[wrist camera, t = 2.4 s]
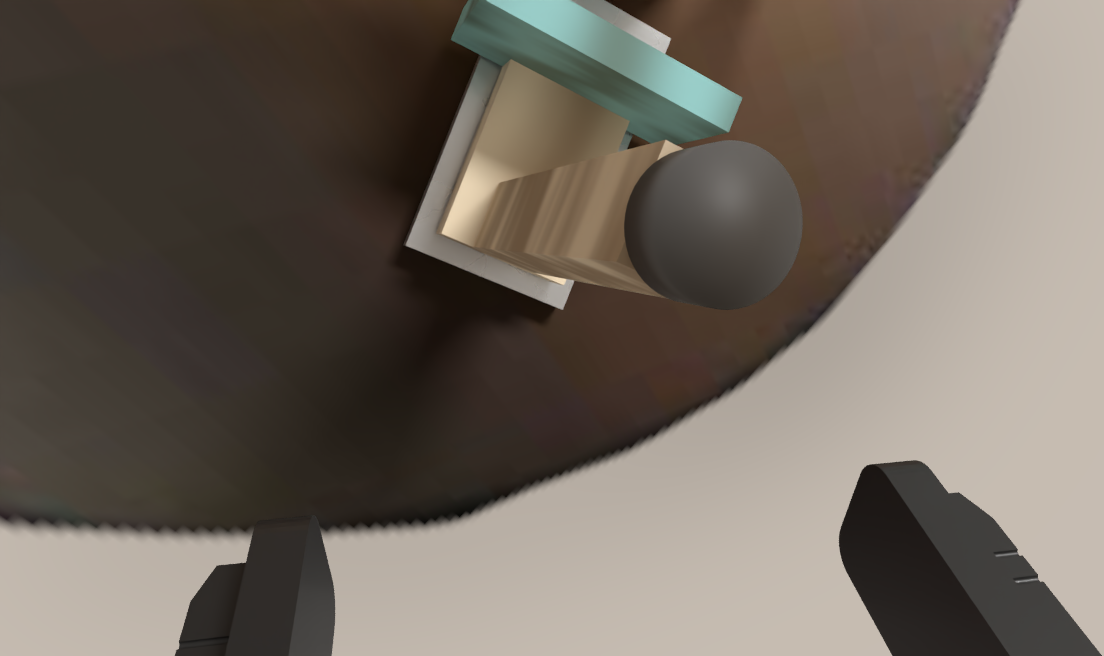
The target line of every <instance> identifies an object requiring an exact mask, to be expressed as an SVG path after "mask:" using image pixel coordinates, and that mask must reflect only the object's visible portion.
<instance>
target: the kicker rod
mask: <svg viewBox="0 0 1104 656" xmlns="http://www.w3.org/2000/svg"><path fill="white" fill-rule="evenodd" d="M451 40H452V41H454V42H456V43H458V44H460V45H462V46H464V47H466V48H468V49H470V50H472V51H473V52H475V53H477V54H479V55H481V56H483V57H485V58H487V59H489V60H491V61H493V62H495V63H497V64H499V65H501V66H503V67H502V69H501V72H500V74H499V77H498V79H497V82H496V84H495V87H494V89H493V92H492V94H491V97H490V99H489V102H488V104H487V107H486V109H485V112H484V114H483V117H482V119H481V122H480V124H479V127H478V129H477V132H476V134H475V137H474V139H473V142H472V144H471V147H470V149H469V152H468V154H467V157H466V159H465V162H464V164H463V167H462V169H461V172H460V174H459V177H458V179H457V182H456V184H455V187H454V189H453V192H452V194H451V197H450V199H449V202H448V204H447V207H446V209H445V212H444V214H443V217H442V219H441V222H440V224H439V227H438V229H437V232H436V234H439V235H441V236H443V237H446V238H448V239H450V240H453V241H455V242H458V243H460V244H462V245H465V246H467V247H469V248H472V249H474V250H477V251H479V252H481V253H484V254H486V255H488V256H491V257H493V258H495V259H498V260H500V261H503V262H505V263H507V264H510V265H512V266H514V267H517V268H519V269H522V270H524V271H526V272H529V273H531V274H533V275H536V276H538V277H541V278H543V279H545V280H548V281H550V282H552V283H555V284H560V285H564V284H565V282H566V279H569V280H574V281H579V282H584V283H590V284H595V285H600V286H605V287H611V288H616V289H621V290H626V291H631V292H637V293H642V294H647V295H652V296H658V297H663V298H668V299H671V300H674V301H678V302H683V303H688V304H693V305H698V306H703V307H709V308H714V309H721V310H731V309H739V308H743V307H747V306H749V305H752V304H754V303H756V302H758V301H760V300H761V299H763V298H765V297H766V296H767V295H769V294H770V293H771V292H772V291H773V290H774V289H776V288H777V287H778V286H779V284H780V283H781V282H782V281H783V279H784V278H785V277H786V275H787V274H788V272H789V271H790V269H791V267H792V265H793V263H794V261H795V259H796V256H797V253H798V250H799V246H800V241H801V236H802V209H801V203H800V199H799V195H798V192H797V190H796V187H795V184H794V182H793V181H792V179H791V177H790V175H789V174H788V172H787V171H786V169H785V168H784V167H783V165H782V164H781V163H780V162H779V161H778V160H777V159H776V158H775V157H774V156H772V155H771V154H770V153H768V152H767V151H765V150H764V149H762V148H760V147H758V146H756V145H753V144H750V143H747V142H742V141H734V140H732V141H720V142H714V143H710V144H705V145H701V146H696V147H691V148H687V149H683V148H681V147H679V146H677V144H681V143H686V142H690V141H694V140H698V139H703V138H707V137H711V136H715V135H719V134H724V133H728V132H729V130H730V128H731V125H732V123H733V120H734V118H735V115H736V113H737V110H738V108H739V105H740V103H741V100H742V97H740V96H738V95H736V94H735V93H733V92H731V91H729V90H728V89H726V88H724V87H722V86H721V85H719V84H717V83H715V82H714V81H712V80H710V79H708V78H706V77H705V76H703V75H701V74H699V73H698V72H696V71H694V70H692V69H691V68H689V67H687V66H685V65H684V64H682V63H680V62H678V61H676V60H675V59H673V58H671V57H669V56H668V55H666V54H664V53H662V52H661V51H659V50H657V49H655V48H654V47H652V46H650V45H648V44H646V43H645V42H643V41H641V40H639V39H638V38H636V37H634V36H632V35H631V34H629V33H627V32H625V31H624V30H622V29H620V28H618V27H616V26H615V25H613V24H611V23H609V22H608V21H606V20H604V19H602V18H601V17H599V16H597V15H595V14H594V13H592V12H590V11H588V10H586V9H585V8H583V7H581V6H579V5H578V4H576V3H574V2H572V1H571V0H468V2H467V3H466V5H465V6H464V8H463V10H462V13H461V15H460V18H459V20H458V23H457V25H456V28H455V30H454V33H453V35H452V38H451ZM626 130H627V131H629V132H630V133H632V134H634V135H636V136H638V137H640V138H642V139H644V140H646V141H648V142H650V143H651V144H647V145H643V146H639V147H636V148H632V149H628V150H624V151H620V152H618V149H619V147H620V144H621V142H622V139H623V137H624V134H625V132H626Z"/></svg>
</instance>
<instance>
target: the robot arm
mask: <svg viewBox="0 0 1104 656" xmlns="http://www.w3.org/2000/svg"><path fill="white" fill-rule="evenodd" d="M839 547H840V554H841V558H842V561H843V564H844V567H845V569H846V572H847V573H848V575H849V577H850V579H851V581H852V583H853V584H854V586H855V588H856V590H857V592H858V594H859V595H860V597H861V599H862V601H863V603H864V605H865V606H866V608H867V610H868V612H869V614H870V616H871V617H872V619H873V621H874V623H875V625H876V626H877V628H878V630H879V632H880V634H881V635H882V637H883V639H884V641H885V643H886V645H887V647H888V648H889V650H890V652H891V654H892V656H1102V655H1101V654H1100V653H1099V651H1098V650H1097V649H1096V648H1095V646H1094V645H1093V644H1092V643H1091V641H1090V640H1089V639H1088V638H1087V636H1086V635H1085V634H1084V633H1083V631H1082V630H1081V629H1080V627H1079V626H1078V625H1077V624H1076V622H1075V621H1074V620H1073V619H1072V617H1071V616H1070V615H1069V614H1068V612H1067V611H1066V610H1065V609H1064V607H1063V606H1062V605H1061V603H1060V602H1059V601H1058V600H1057V598H1056V597H1055V596H1054V595H1053V593H1052V592H1051V591H1050V590H1049V588H1048V587H1047V586H1046V584H1045V583H1044V582H1040V581H1039V580H1038V574H1037V573H1036V572H1035V571H1034V569H1033V568H1032V567H1031V566H1030V564H1029V563H1028V562H1027V560H1026V559H1025V558H1024V557H1023V556H1019V555H1018V552H1017V550H1018V549H1017V548H1016V547H1015V545H1014V544H1013V543H1012V542H1011V540H1010V539H1009V538H1008V537H1007V535H1006V534H1005V533H1004V531H1003V530H1002V529H1001V528H1000V527H999V525H998V524H997V523H996V521H995V520H994V519H993V518H992V517H991V516H989V515H988V514H987V513H985V512H984V511H983V510H981V509H980V508H979V507H978V506H976V505H975V504H973V503H972V502H971V501H969V500H968V499H967V498H966V497H964V496H963V495H962V494H960V493H948V492H947V491H946V489H945V488H944V487H943V485H942V484H941V483H940V482H939V480H938V479H937V478H936V476H935V475H934V474H933V472H932V471H931V470H930V469H929V467H928V466H926V465H925V464H923V463H922V462H920V461H903V462H893V463H883V464H872V465H867V466H866V467H865V468H864V469H863V470H862V472H861V474H860V477H859V480H858V482H857V485H856V488H855V490H854V493H853V496H852V499H851V501H850V504H849V507H848V510H847V512H846V515H845V518H844V521H843V524H842V526H841V530H840V534H839ZM334 626H335V596H334V586H333V581H332V577H331V572H330V569H329V565H328V560H327V556H326V552H325V548H324V544H323V539H322V535H321V531H320V527H319V523H318V520H317V518H316V516H303V517H293V518H282V519H272V520H261V521H258V522H257V524H256V526H255V528H254V531H253V535H252V539H251V544H250V548H249V552H248V557H247V561H246V563H239V564H229V565H219V566H216V568H215V569H214V571H213V572H212V573H211V574H210V576H209V577H208V579H207V580H206V581H205V583H204V584H203V585H202V587H201V588H200V590H199V591H198V592H197V593H196V595H195V596H194V598H193V599H192V600H191V602H190V605H189V609H188V612H187V616H186V619H185V623H184V626H183V630H182V633H181V636H180V640H179V644H180V646H179V649H178V650H176V654H175V656H331V654H332V645H333V636H334Z"/></svg>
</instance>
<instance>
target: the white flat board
mask: <svg viewBox="0 0 1104 656" xmlns="http://www.w3.org/2000/svg"><path fill="white" fill-rule="evenodd" d="M571 1H572V2H574V3H576V4H578V5H579V6H581V7H583V8H585V9H586V10H588V11H590V12H592V13H594V14H595V15H597V16H599V17H601V18H602V19H604V20H606V21H608V22H609V23H611V24H613V25H615V26H616V27H618V28H620V29H622V30H624V31H625V32H627V33H629V34H631V35H632V36H634V37H636V38H638V39H639V40H641V41H643V42H645V43H646V44H648V45H650V46H652V47H654V48H655V49H657V50H659V51H661V52H662V53H664V54H665V53H666V50H667V48H668V45H669V43H670V40H671V38H669V37H667V36H666V35H664V34H662V33H660V32H659V31H657V30H655V29H654V28H652V27H650V26H648V25H647V24H645V23H643V22H641V21H640V20H638V19H636V18H634V17H633V16H631V15H629V14H628V13H626V12H624V11H622V10H621V9H619V8H617V7H615V6H614V5H612V4H610V3H608V2H607V1H605V0H571ZM502 67H503V66H501V65H499V64H497V63H495V62H493V61H491V60H489V59H487V58H485V57H483V56H481V55H479V56H478V59H477V61H476V64H475V66H474V69H473V71H472V74H471V76H470V79H469V81H468V84H467V86H466V89H465V91H464V94H463V96H462V99H461V101H460V104H459V106H458V109H457V111H456V114H455V116H454V119H453V121H452V124H451V126H450V129H449V131H448V134H447V136H446V139H445V141H444V144H443V146H442V149H441V151H440V154H439V156H438V159H437V161H436V164H435V166H434V169H433V171H432V174H431V176H430V179H429V181H428V184H427V186H426V189H425V191H424V194H423V196H422V199H421V201H420V204H419V206H418V209H417V211H416V214H415V216H414V219H413V221H412V224H411V226H410V229H409V231H408V234H407V236H406V239H405V241H404V244H403V245H404V246H407V247H409V248H412V249H414V250H417V251H419V252H421V253H424V254H426V255H429V256H431V257H434V258H436V259H438V260H441V261H443V262H446V263H448V264H451V265H453V266H456V267H458V268H460V269H463V270H465V271H468V272H470V273H473V274H475V275H478V276H480V277H482V278H485V279H487V280H490V281H492V282H495V283H497V284H499V285H502V286H504V287H507V288H509V289H512V290H514V291H517V292H519V293H521V294H524V295H526V296H529V297H531V298H534V299H536V300H538V301H541V302H543V303H546V304H548V305H551V306H553V307H556V308H559V309H562V310H563V308H564V305H565V303H566V300H567V298H568V295H569V293H570V290H571V288H572V285H573V283H574V280H569V279H566V282H565V284H564V285H560V284H555V283H552V282H550V281H548V280H545V279H543V278H541V277H538V276H536V275H533V274H531V273H529V272H526V271H524V270H522V269H519V268H517V267H514V266H512V265H510V264H507V263H505V262H503V261H500V260H498V259H495V258H493V257H491V256H488V255H486V254H484V253H481V252H479V251H477V250H474V249H472V248H469V247H467V246H465V245H462V244H460V243H458V242H455V241H453V240H450V239H448V238H446V237H443V236H441V235H439V234H436V232H437V229H438V227H439V224H440V222H441V219H442V217H443V214H444V212H445V209H446V207H447V204H448V202H449V199H450V197H451V194H452V192H453V189H454V187H455V184H456V182H457V179H458V177H459V174H460V172H461V169H462V167H463V164H464V162H465V159H466V157H467V154H468V152H469V149H470V147H471V144H472V142H473V139H474V137H475V134H476V132H477V129H478V127H479V124H480V122H481V119H482V117H483V114H484V112H485V109H486V107H487V104H488V102H489V99H490V97H491V94H492V92H493V89H494V87H495V84H496V82H497V79H498V77H499V74H500V72H501V69H502ZM632 135H633V134H632V133H630V132H629V131H627V130H626V132H625V134H624V137H623V139H622V142H621V144H620V147H619V149H618V152H620V151H624V150H627V148H628V145H629V143H630V140H631V138H632Z"/></svg>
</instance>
